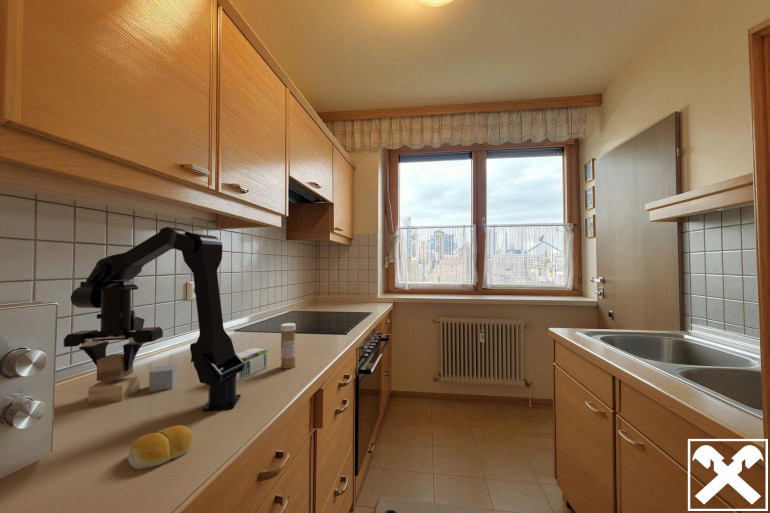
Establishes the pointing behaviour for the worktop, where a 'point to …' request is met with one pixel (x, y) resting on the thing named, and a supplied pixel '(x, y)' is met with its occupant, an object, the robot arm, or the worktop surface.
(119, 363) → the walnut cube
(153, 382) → the slate-grey cube
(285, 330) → the sprinkles bottle
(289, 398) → the worktop surface
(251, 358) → the syrup box
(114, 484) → the worktop surface
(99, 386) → the oak base block
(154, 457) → the bread roll
